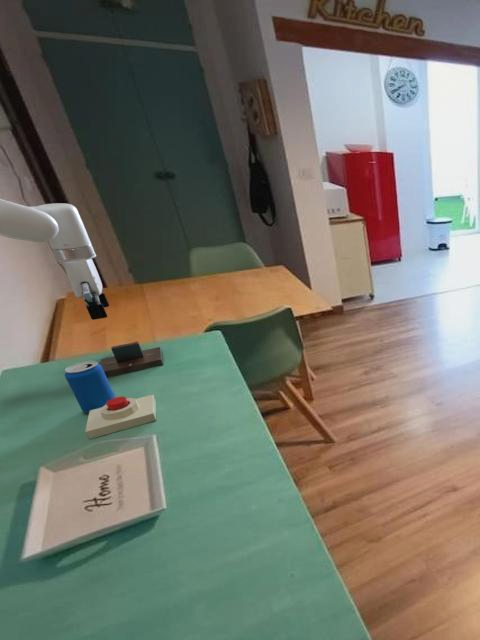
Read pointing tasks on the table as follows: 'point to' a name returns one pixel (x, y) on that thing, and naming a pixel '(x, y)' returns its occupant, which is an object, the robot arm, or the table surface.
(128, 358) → the knob
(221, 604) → the table surface
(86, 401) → the beverage can
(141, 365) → the panel
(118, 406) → the button
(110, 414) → the housing
